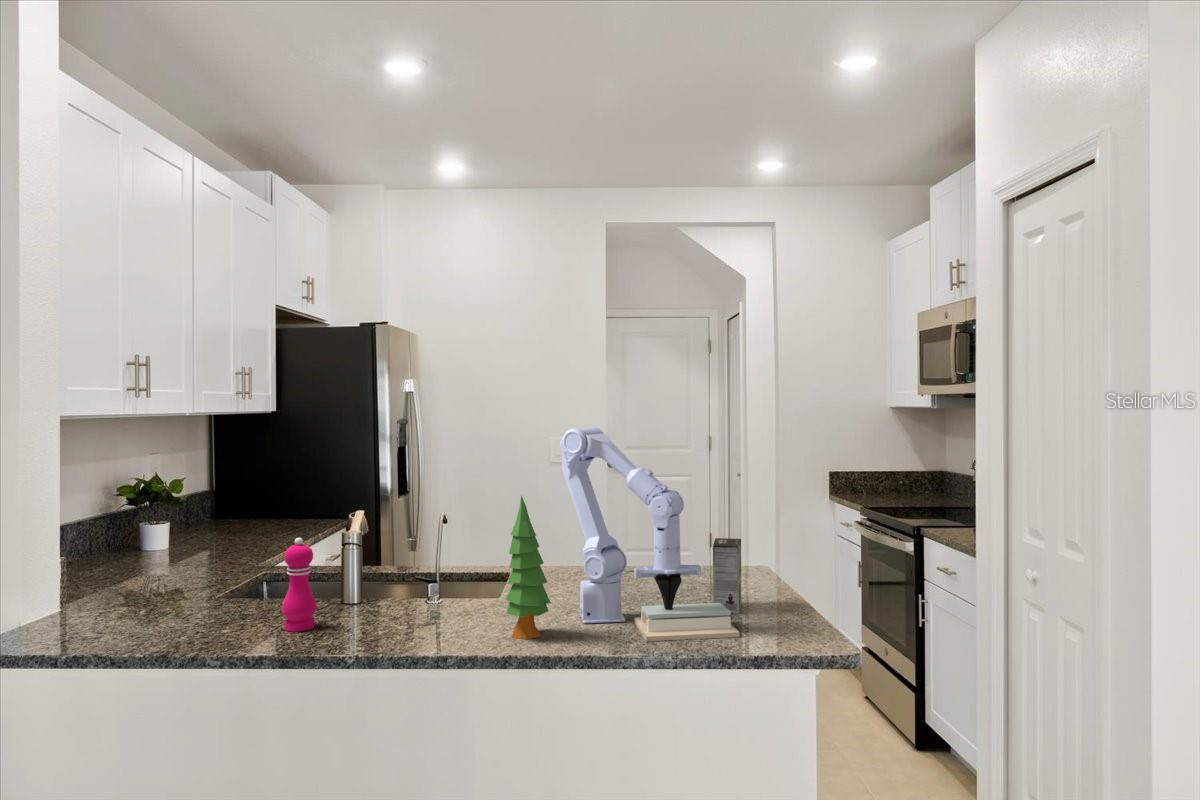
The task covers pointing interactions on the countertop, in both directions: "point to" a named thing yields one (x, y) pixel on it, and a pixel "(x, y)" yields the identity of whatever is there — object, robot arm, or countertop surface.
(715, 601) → the coffee box
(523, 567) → the decorative tree
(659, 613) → the panel
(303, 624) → the pepper mill
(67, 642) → the countertop surface
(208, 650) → the countertop surface
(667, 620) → the duct base
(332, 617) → the countertop surface
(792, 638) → the countertop surface
